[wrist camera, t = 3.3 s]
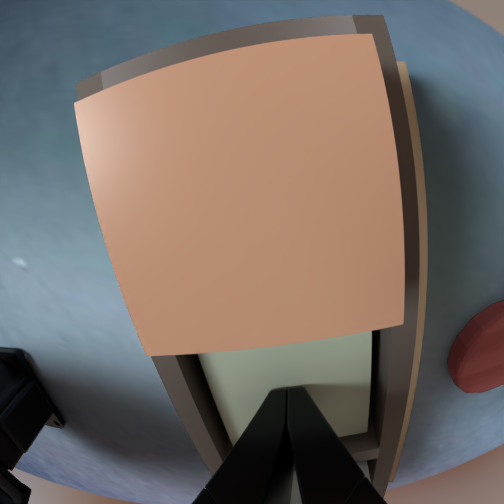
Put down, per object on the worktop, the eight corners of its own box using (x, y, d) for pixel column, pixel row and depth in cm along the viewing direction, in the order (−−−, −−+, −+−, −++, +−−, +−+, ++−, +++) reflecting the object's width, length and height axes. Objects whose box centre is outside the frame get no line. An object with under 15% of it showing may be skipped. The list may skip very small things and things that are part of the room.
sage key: (243, 384, 11) (233, 446, 8) (216, 288, 10) (194, 345, 7) (351, 369, 11) (367, 431, 8) (346, 269, 9) (371, 321, 6)
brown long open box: (237, 482, 17) (227, 550, 12) (114, 123, 10) (9, 121, 5) (388, 464, 16) (404, 532, 10) (389, 70, 9) (473, 24, 4)
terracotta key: (190, 280, 8) (147, 356, 5) (151, 114, 6) (74, 103, 4) (359, 255, 7) (403, 324, 4) (332, 78, 6) (371, 33, 3)
